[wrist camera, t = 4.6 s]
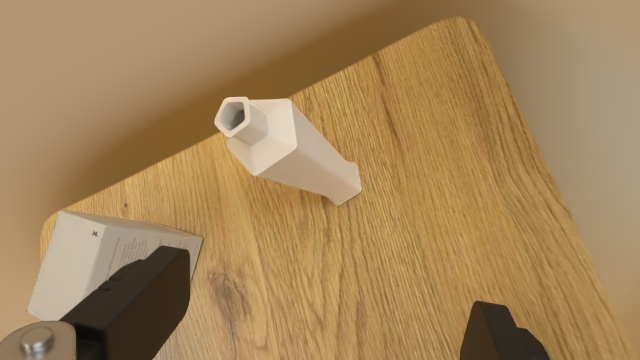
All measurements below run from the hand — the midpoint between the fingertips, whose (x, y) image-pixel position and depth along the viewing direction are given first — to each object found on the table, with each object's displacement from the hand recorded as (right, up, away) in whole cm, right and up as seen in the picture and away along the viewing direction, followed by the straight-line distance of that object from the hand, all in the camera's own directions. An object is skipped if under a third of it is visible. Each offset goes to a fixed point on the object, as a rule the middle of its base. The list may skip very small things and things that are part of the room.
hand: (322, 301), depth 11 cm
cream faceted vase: (+2, +3, +22) cm, 22 cm away
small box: (-14, -5, +27) cm, 31 cm away
